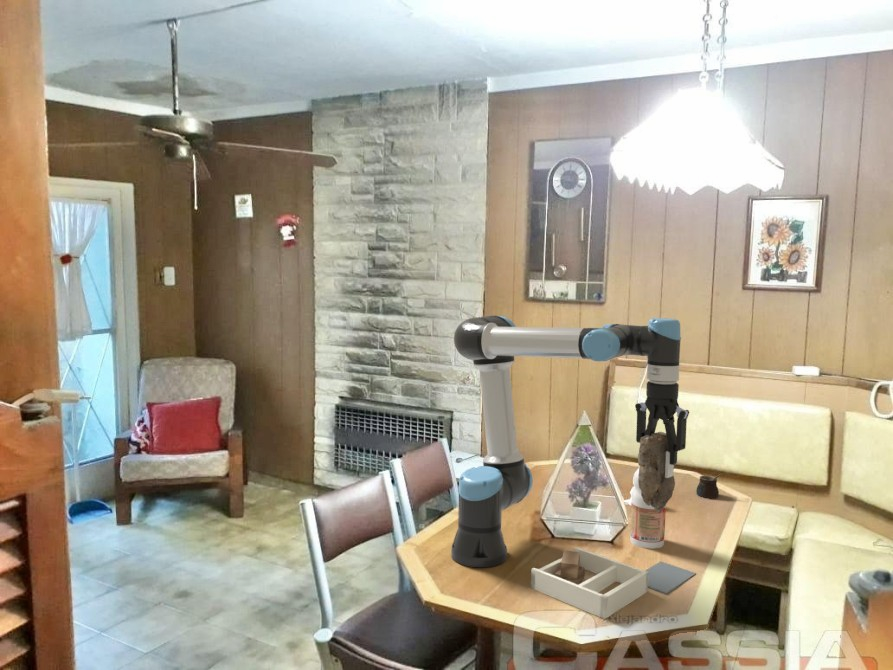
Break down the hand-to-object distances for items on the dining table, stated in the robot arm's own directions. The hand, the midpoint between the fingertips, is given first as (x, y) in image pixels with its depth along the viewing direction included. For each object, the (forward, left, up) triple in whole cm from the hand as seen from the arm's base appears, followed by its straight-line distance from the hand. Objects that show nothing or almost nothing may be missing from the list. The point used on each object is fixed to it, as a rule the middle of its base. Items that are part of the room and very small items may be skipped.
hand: (659, 474), depth 176 cm
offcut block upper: (-15, -16, -25) cm, 33 cm away
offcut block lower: (-15, -16, -28) cm, 36 cm away
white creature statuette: (-31, +46, -28) cm, 62 cm away
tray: (-9, -15, -28) cm, 33 cm away
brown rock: (0, 0, -10) cm, 10 cm away
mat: (0, +4, -28) cm, 28 cm away
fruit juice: (-14, +21, -28) cm, 38 cm away
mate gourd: (-19, +71, -28) cm, 79 cm away
